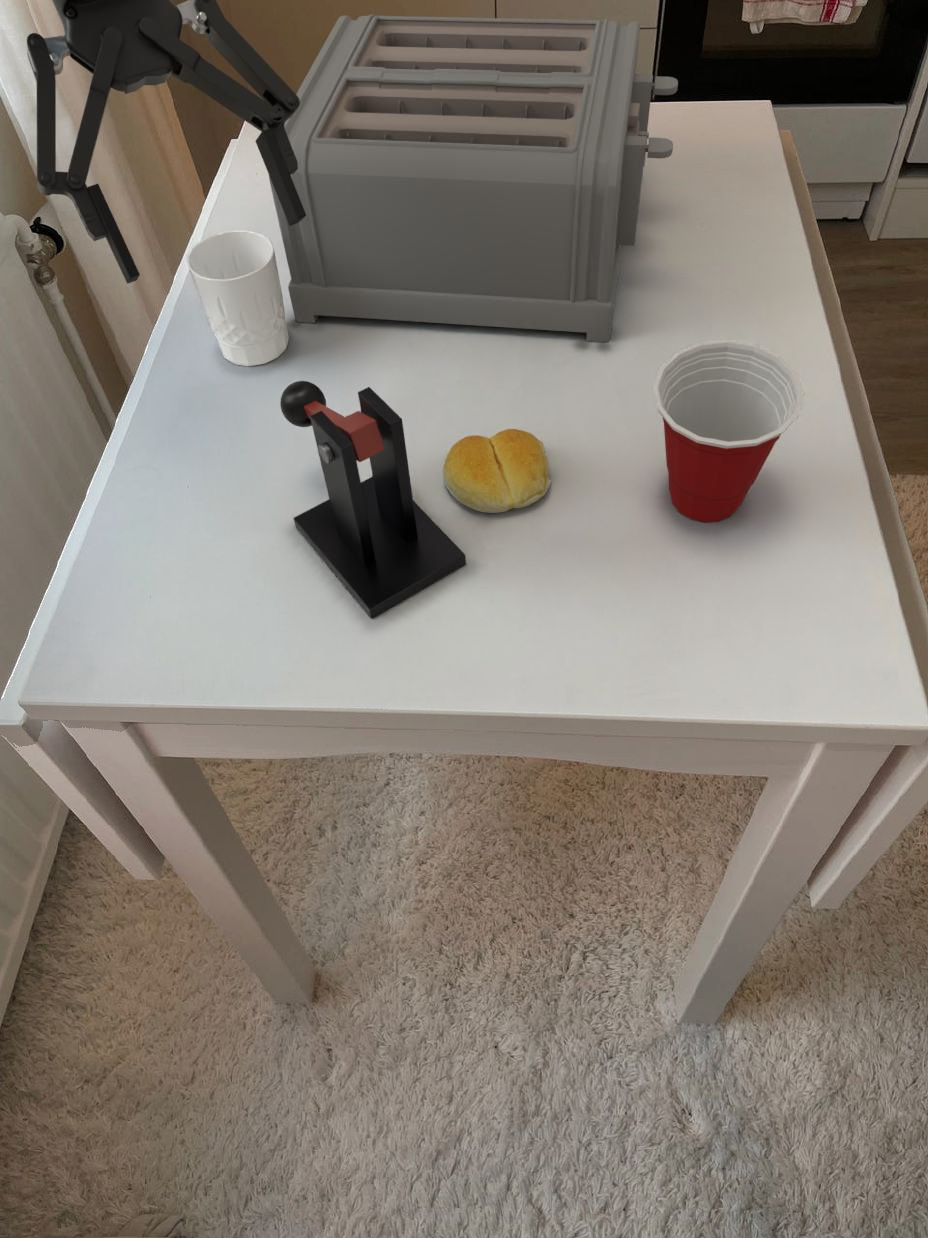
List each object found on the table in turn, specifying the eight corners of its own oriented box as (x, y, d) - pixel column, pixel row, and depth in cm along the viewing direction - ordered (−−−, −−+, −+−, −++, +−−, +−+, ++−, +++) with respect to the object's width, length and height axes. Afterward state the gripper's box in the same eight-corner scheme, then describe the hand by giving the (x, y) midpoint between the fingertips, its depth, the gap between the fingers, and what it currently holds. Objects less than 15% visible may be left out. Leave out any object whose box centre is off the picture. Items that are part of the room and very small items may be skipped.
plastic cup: (615, 518, 79) (628, 406, 69) (670, 438, 84) (689, 323, 74) (740, 568, 75) (773, 457, 65) (790, 480, 80) (826, 365, 70)
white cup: (311, 339, 94) (291, 248, 86) (252, 381, 91) (226, 291, 83) (257, 310, 98) (234, 220, 90) (198, 350, 94) (168, 259, 86)
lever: (282, 428, 78) (266, 387, 76) (320, 409, 79) (306, 369, 77) (354, 474, 68) (337, 429, 66) (396, 452, 69) (381, 407, 67)
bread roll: (438, 457, 84) (434, 422, 81) (538, 441, 84) (538, 406, 81) (452, 525, 79) (449, 491, 76) (558, 508, 79) (560, 474, 76)
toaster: (649, 345, 91) (673, 169, 77) (293, 321, 96) (255, 152, 82) (664, 175, 109) (685, 7, 95) (362, 162, 114) (340, 1, 100)
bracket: (295, 527, 80) (258, 399, 69) (386, 479, 82) (364, 348, 71) (371, 619, 74) (344, 495, 62) (466, 564, 76) (456, 436, 65)
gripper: (-106, -41, 59) (60, 298, 66) (260, -126, 66) (376, 186, 73) (-91, 9, 66) (58, 311, 73) (240, -74, 73) (347, 208, 80)
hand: (218, 249), depth 73 cm, fingers open, 13 cm apart
